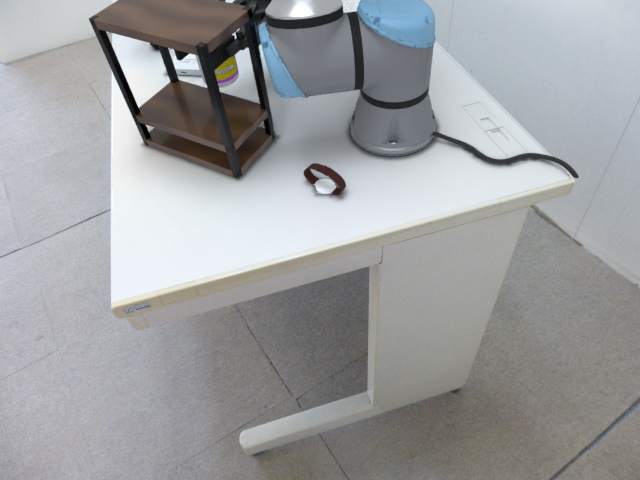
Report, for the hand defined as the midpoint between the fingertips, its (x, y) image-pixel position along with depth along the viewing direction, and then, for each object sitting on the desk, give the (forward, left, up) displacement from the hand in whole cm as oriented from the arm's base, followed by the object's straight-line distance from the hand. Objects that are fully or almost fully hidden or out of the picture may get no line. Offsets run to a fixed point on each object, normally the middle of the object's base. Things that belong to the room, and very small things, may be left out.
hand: (193, 57), depth 83 cm
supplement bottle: (+2, -5, -7) cm, 9 cm away
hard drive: (+26, -11, -16) cm, 33 cm away
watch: (-25, -7, -13) cm, 29 cm away
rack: (-1, +2, -16) cm, 16 cm away
